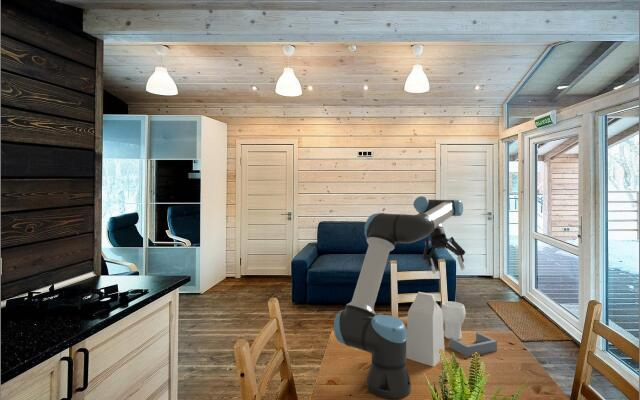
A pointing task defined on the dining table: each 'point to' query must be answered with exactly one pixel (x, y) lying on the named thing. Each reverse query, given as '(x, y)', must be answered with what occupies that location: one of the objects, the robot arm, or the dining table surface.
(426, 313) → the milk
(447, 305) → the cup
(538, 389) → the dining table surface
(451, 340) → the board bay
